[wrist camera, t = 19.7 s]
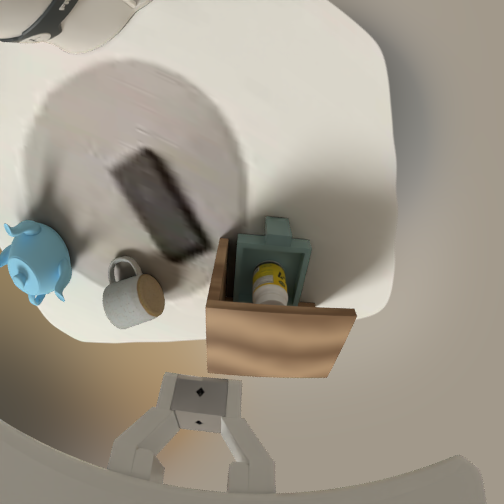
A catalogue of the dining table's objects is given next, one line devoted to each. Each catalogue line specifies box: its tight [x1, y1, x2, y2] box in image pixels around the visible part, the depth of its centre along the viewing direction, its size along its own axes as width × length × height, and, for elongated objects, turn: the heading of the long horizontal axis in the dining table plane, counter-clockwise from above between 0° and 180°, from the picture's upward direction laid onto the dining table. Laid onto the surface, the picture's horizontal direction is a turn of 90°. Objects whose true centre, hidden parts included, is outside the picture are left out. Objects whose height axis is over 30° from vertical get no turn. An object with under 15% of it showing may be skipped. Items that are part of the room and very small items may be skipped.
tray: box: [233, 216, 312, 306], centre depth 40 cm, size 14×10×5 cm
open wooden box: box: [206, 238, 357, 378], centre depth 38 cm, size 12×16×14 cm
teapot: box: [0, 220, 72, 305], centre depth 37 cm, size 15×15×10 cm
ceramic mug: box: [103, 256, 165, 329], centre depth 41 cm, size 11×8×8 cm
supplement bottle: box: [252, 260, 288, 306], centre depth 39 cm, size 5×5×8 cm
